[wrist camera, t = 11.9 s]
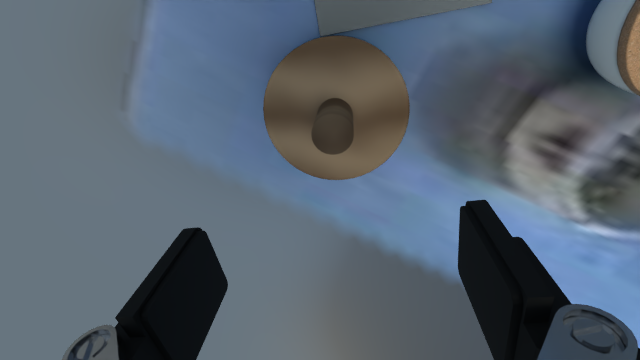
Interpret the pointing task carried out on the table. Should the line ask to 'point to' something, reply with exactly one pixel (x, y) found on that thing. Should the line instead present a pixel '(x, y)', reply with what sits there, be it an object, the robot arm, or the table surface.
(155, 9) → the table surface
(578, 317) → the robot arm
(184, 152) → the table surface
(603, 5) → the lidded jar
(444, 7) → the slate mat
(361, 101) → the walnut lid
